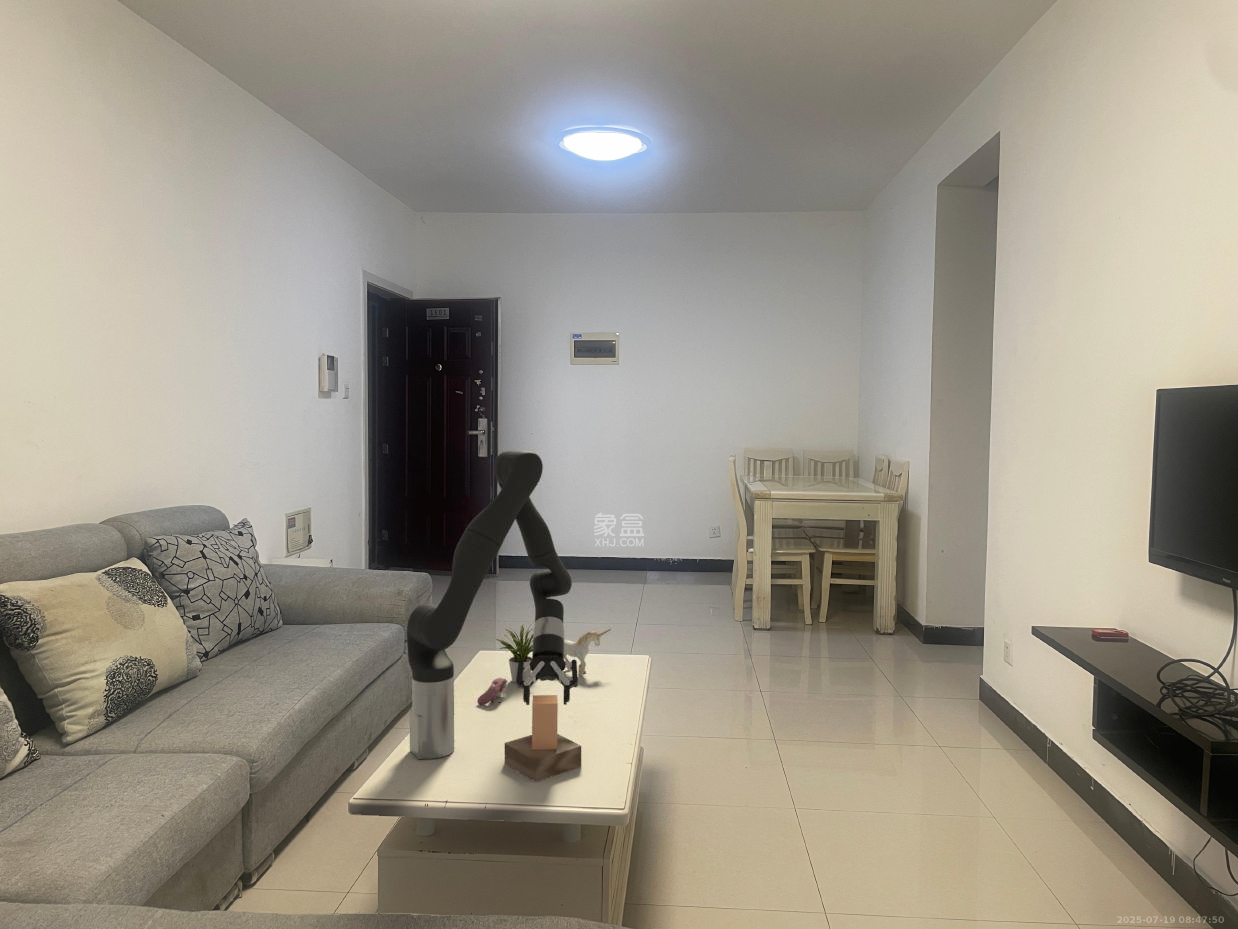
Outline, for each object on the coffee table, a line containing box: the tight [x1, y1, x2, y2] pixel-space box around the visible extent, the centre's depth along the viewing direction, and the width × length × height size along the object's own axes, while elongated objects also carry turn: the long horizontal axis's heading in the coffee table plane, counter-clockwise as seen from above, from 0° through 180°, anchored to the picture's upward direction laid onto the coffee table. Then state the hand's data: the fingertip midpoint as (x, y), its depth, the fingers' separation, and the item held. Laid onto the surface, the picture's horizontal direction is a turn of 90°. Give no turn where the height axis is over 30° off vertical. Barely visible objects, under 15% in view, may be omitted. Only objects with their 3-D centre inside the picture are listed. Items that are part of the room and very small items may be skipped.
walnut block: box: [504, 733, 582, 782], centre depth 173 cm, size 12×12×5 cm
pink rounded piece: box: [477, 677, 508, 706], centre depth 214 cm, size 10×5×7 cm, turn 170°
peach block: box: [531, 694, 559, 750], centre depth 173 cm, size 5×5×10 cm
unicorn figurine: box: [564, 628, 612, 677], centre depth 238 cm, size 7×20×13 cm, turn 75°
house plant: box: [495, 623, 534, 684], centre depth 232 cm, size 14×14×16 cm
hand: (546, 703), depth 181 cm, fingers open, 8 cm apart
